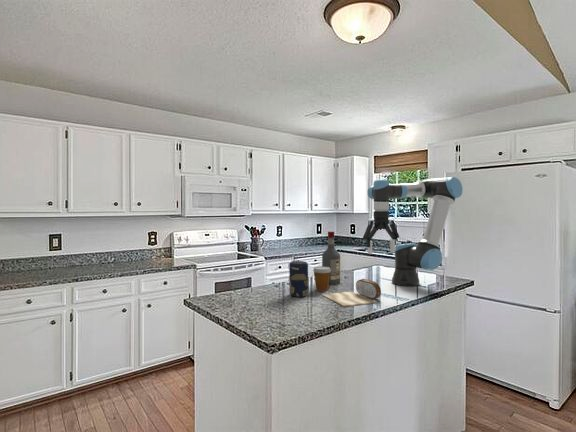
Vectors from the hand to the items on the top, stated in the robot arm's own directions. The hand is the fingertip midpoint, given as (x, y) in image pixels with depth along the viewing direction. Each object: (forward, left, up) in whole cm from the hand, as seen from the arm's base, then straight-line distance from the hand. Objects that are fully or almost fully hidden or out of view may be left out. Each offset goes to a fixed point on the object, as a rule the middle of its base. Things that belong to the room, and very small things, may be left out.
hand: (381, 252), depth 176 cm
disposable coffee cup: (+23, -21, -22) cm, 38 cm away
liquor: (+10, -35, -22) cm, 43 cm away
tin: (+8, 0, -22) cm, 23 cm away
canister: (+39, -15, -22) cm, 47 cm away
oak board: (+19, 0, -21) cm, 29 cm away
